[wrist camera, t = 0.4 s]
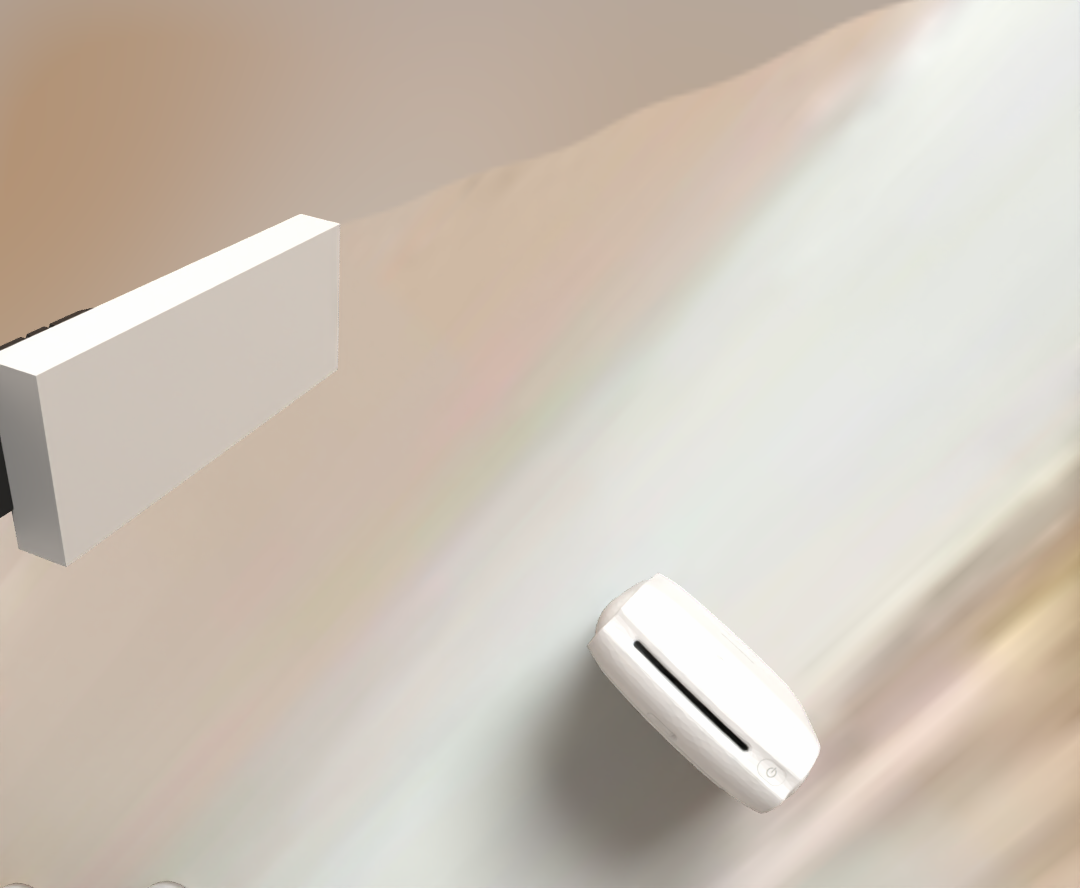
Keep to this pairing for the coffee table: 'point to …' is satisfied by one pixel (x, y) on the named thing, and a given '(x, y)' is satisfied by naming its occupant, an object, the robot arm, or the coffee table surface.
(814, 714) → the coffee table surface
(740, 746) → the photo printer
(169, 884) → the block with headed pegs
